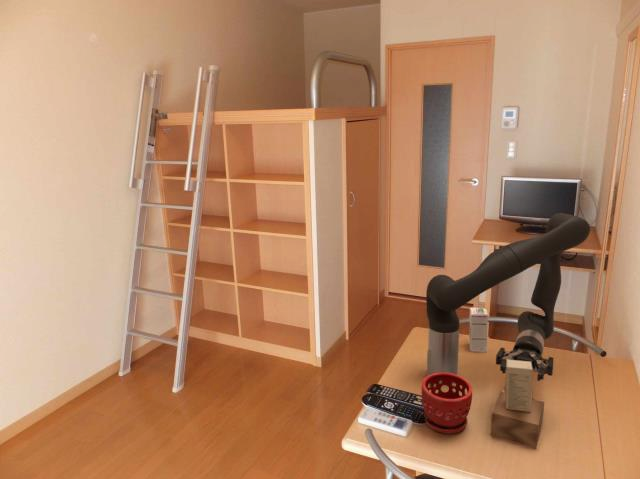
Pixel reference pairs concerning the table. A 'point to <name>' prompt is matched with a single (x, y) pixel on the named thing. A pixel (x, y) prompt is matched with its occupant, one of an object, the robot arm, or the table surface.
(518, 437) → the walnut block
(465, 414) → the plant pot
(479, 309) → the syrup box
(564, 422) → the table surface
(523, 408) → the skincare box
